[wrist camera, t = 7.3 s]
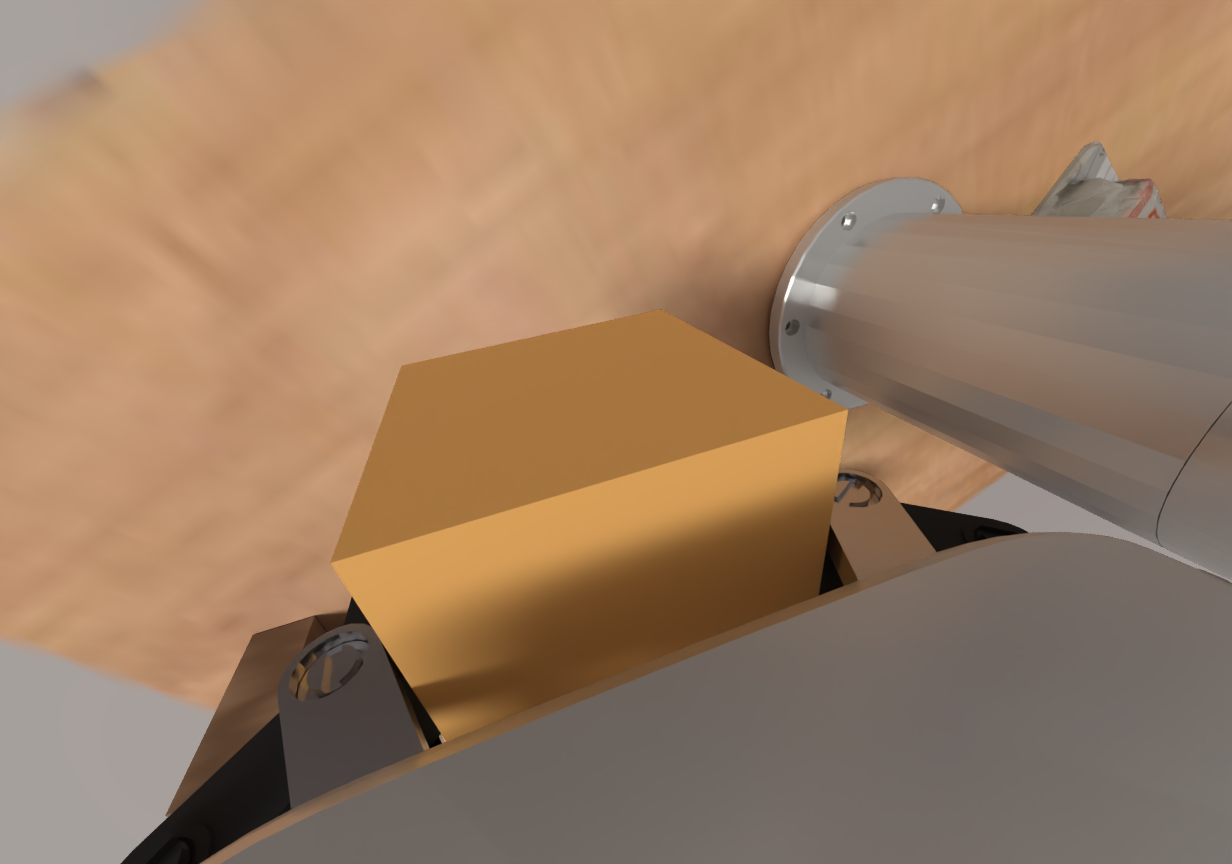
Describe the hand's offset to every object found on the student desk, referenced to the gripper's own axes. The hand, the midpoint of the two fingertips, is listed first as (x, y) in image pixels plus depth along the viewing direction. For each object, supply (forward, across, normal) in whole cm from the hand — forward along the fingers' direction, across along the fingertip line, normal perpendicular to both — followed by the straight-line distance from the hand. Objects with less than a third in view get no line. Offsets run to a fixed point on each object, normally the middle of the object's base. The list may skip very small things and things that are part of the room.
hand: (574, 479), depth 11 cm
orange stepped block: (+1, 0, +2) cm, 2 cm away
